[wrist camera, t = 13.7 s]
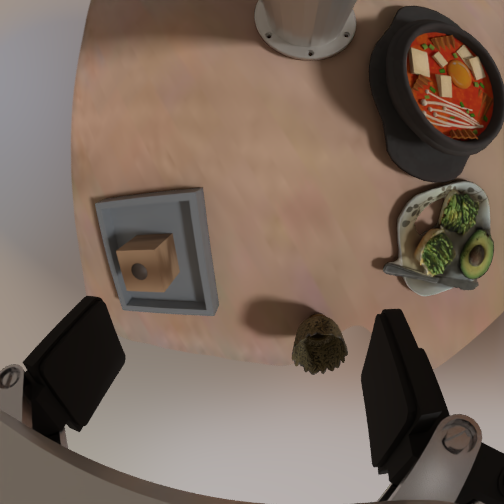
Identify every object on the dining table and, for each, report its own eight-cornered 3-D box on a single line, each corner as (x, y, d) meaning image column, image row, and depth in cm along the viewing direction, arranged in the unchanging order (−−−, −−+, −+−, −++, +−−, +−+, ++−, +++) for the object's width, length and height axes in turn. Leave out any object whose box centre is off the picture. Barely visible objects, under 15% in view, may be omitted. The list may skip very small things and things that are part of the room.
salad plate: (384, 309, 41) (392, 327, 37) (369, 198, 35) (378, 207, 31) (483, 278, 37) (497, 292, 32) (482, 173, 31) (499, 179, 26)
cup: (283, 320, 44) (280, 355, 37) (319, 291, 41) (323, 325, 34) (314, 346, 45) (315, 382, 38) (350, 321, 42) (358, 356, 35)
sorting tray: (106, 198, 40) (94, 203, 37) (202, 187, 37) (195, 192, 35) (131, 300, 47) (122, 310, 44) (218, 304, 44) (214, 315, 42)
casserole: (468, 194, 32) (501, 210, 24) (353, 162, 34) (370, 170, 26) (481, 40, 22) (512, 29, 14) (369, -6, 24) (384, -34, 16)
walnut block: (136, 235, 41) (115, 251, 35) (172, 233, 40) (154, 249, 34) (145, 271, 43) (126, 291, 37) (179, 271, 42) (164, 292, 36)
